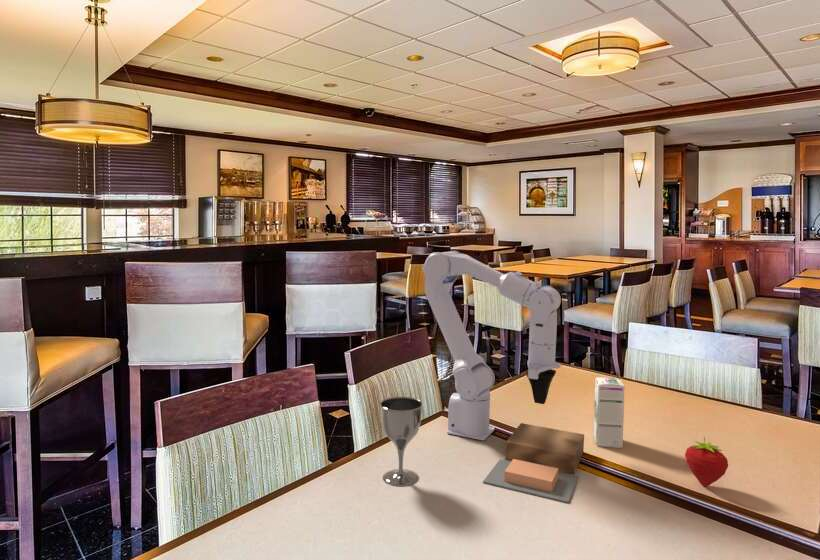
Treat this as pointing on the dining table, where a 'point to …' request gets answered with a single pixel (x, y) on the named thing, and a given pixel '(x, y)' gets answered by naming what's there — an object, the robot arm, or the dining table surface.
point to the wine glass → (401, 434)
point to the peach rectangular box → (531, 475)
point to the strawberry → (706, 462)
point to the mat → (559, 492)
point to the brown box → (546, 447)
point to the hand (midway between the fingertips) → (539, 402)
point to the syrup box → (609, 412)
